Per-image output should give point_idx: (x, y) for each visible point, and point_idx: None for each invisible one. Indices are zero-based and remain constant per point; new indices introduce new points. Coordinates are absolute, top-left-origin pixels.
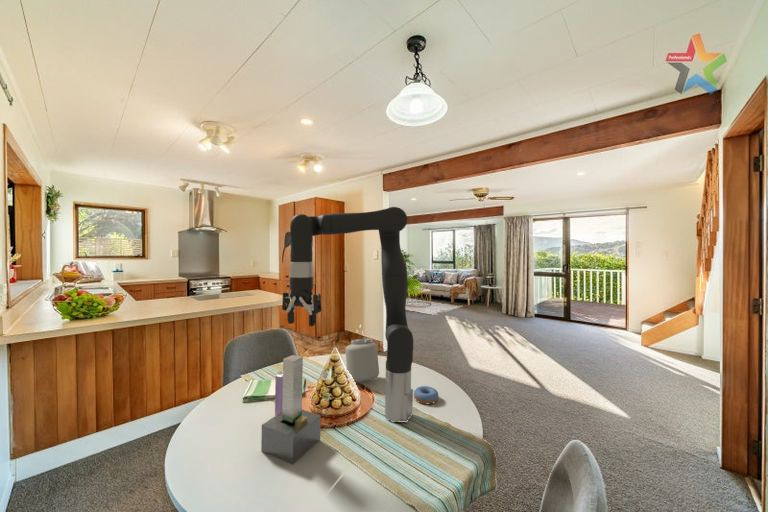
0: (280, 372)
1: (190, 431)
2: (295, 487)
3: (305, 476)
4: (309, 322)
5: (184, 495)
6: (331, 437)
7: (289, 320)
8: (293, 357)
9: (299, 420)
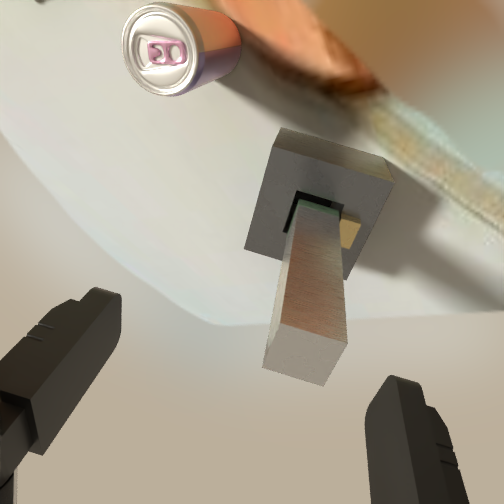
0: (132, 41)
1: (52, 177)
2: (369, 289)
3: (380, 266)
4: (375, 459)
5: (203, 313)
6: (413, 135)
7: (95, 368)
8: (301, 350)
9: (343, 240)
